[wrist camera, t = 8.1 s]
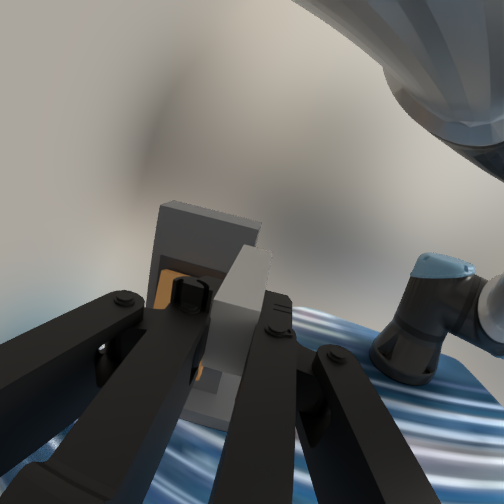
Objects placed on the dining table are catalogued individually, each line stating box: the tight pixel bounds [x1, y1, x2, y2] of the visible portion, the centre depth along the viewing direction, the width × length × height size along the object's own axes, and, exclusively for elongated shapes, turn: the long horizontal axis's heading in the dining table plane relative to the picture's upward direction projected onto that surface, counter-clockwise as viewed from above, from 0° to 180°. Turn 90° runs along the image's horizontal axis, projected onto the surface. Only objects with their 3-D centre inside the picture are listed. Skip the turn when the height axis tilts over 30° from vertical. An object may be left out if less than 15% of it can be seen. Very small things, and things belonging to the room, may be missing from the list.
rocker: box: [153, 269, 203, 381], centre depth 30 cm, size 2×6×10 cm, turn 82°
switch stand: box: [146, 201, 262, 432], centre depth 35 cm, size 12×16×23 cm
